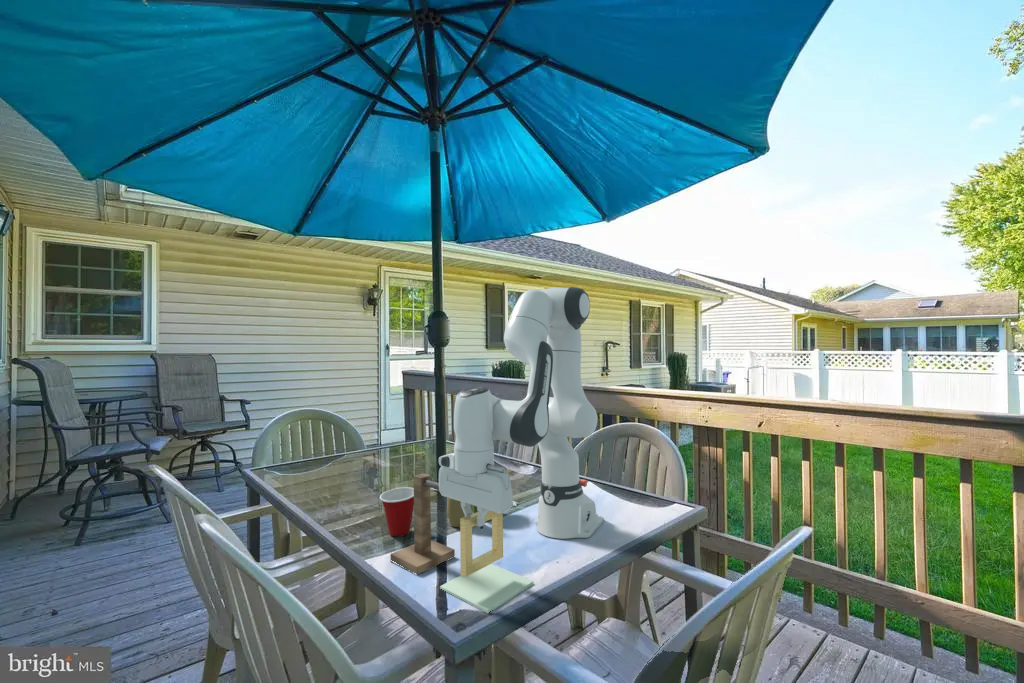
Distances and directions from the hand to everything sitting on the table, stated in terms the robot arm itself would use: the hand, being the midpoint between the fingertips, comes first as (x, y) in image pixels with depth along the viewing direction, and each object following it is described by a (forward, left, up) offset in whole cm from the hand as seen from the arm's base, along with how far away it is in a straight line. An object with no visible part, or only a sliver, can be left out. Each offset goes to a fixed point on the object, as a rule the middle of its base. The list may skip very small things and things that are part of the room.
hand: (474, 523), depth 99 cm
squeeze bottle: (-25, -32, -16) cm, 43 cm away
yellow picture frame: (-2, 0, -10) cm, 10 cm away
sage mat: (-4, 0, -15) cm, 16 cm away
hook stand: (-3, -17, -15) cm, 23 cm away
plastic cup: (-9, -41, -16) cm, 45 cm away
